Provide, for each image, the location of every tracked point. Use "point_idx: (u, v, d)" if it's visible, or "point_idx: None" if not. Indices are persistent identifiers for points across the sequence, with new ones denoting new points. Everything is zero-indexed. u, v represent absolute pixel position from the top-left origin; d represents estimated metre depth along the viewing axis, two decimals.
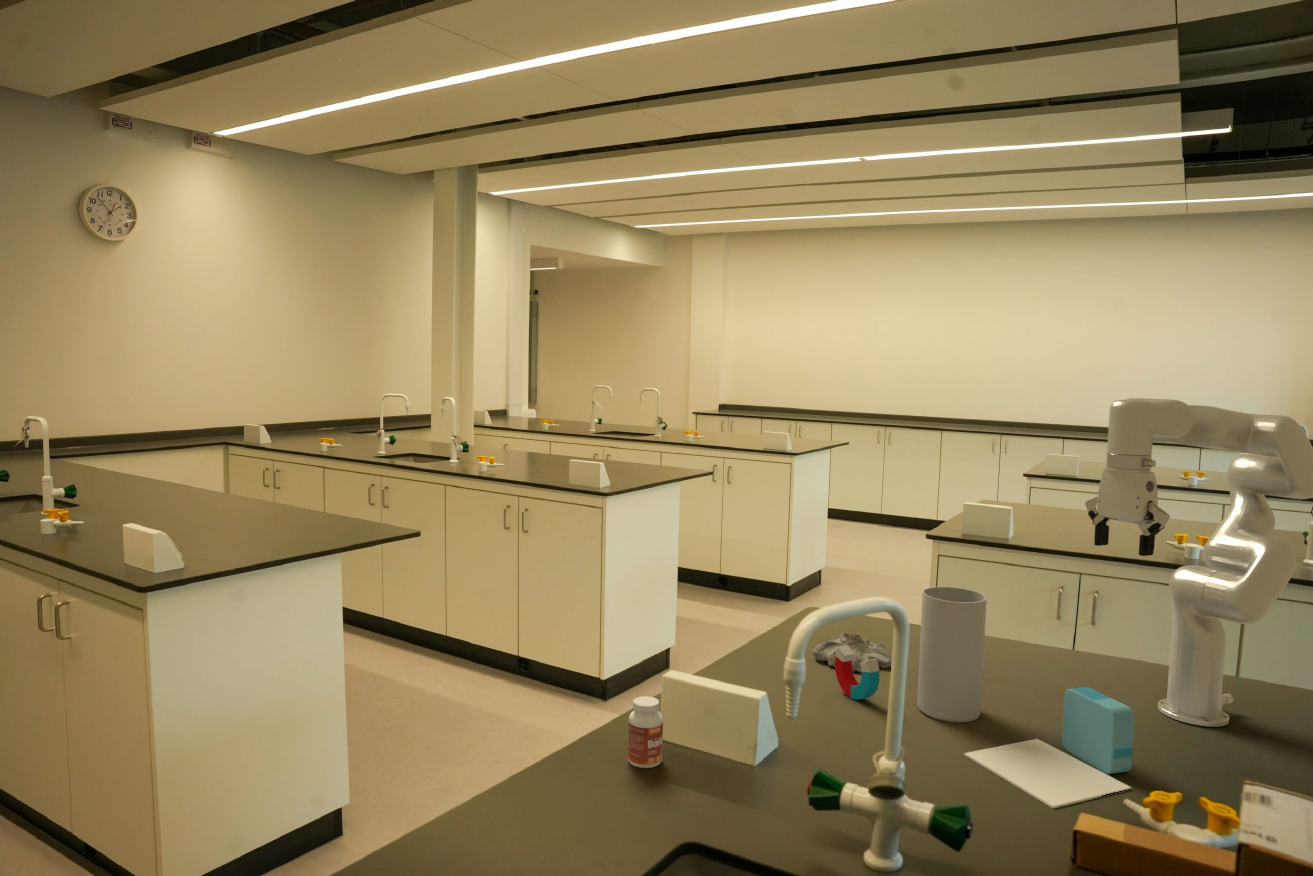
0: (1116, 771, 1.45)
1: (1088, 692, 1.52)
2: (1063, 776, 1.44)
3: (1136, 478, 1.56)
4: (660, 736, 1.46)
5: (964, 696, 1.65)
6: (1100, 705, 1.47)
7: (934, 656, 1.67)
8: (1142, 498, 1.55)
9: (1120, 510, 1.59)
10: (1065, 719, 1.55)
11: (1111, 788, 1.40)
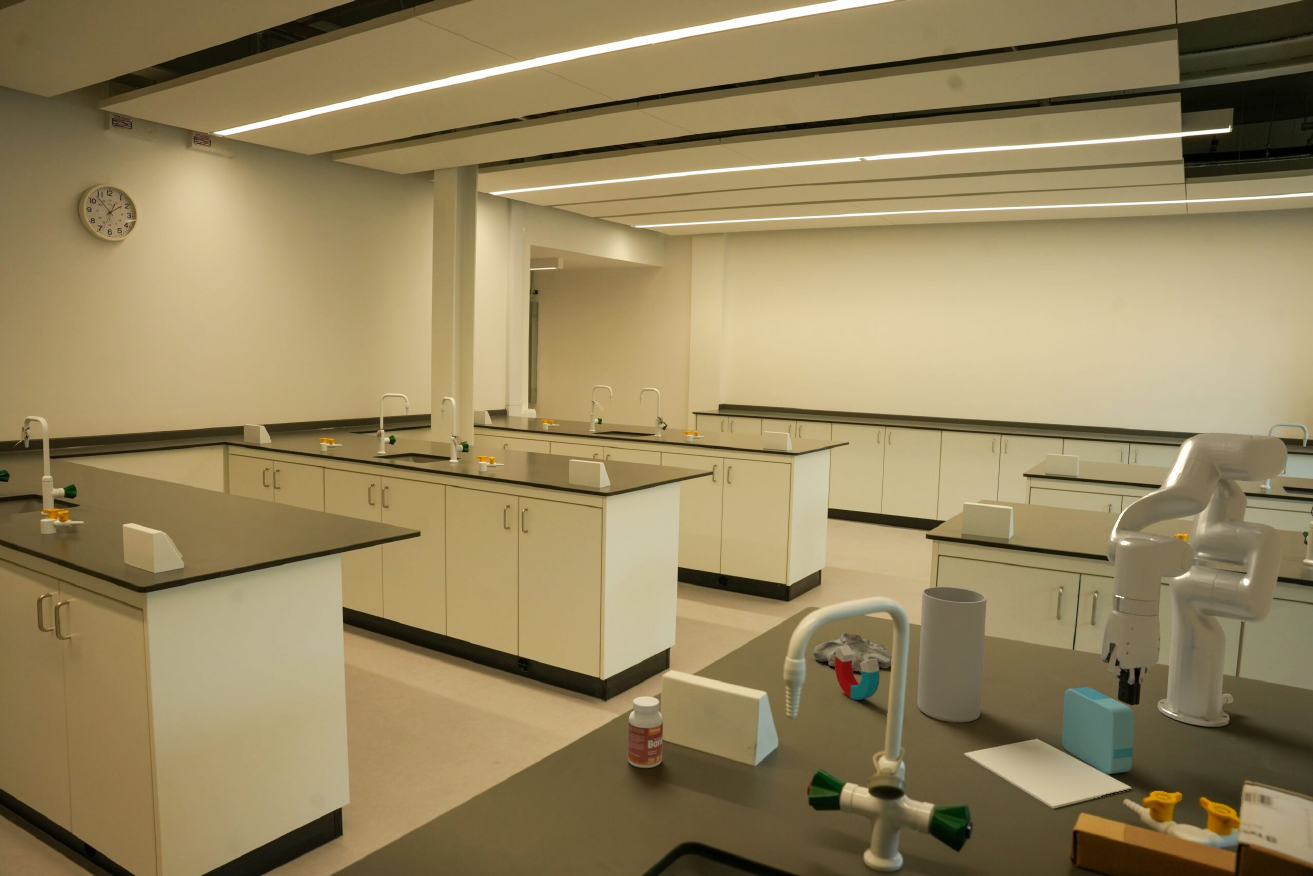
0: (1116, 771, 1.45)
1: (1088, 692, 1.52)
2: (1063, 776, 1.44)
3: (1158, 620, 1.51)
4: (660, 736, 1.46)
5: (964, 696, 1.65)
6: (1100, 705, 1.47)
7: (934, 656, 1.67)
8: None
9: (1145, 657, 1.51)
10: (1065, 719, 1.55)
11: (1111, 788, 1.40)
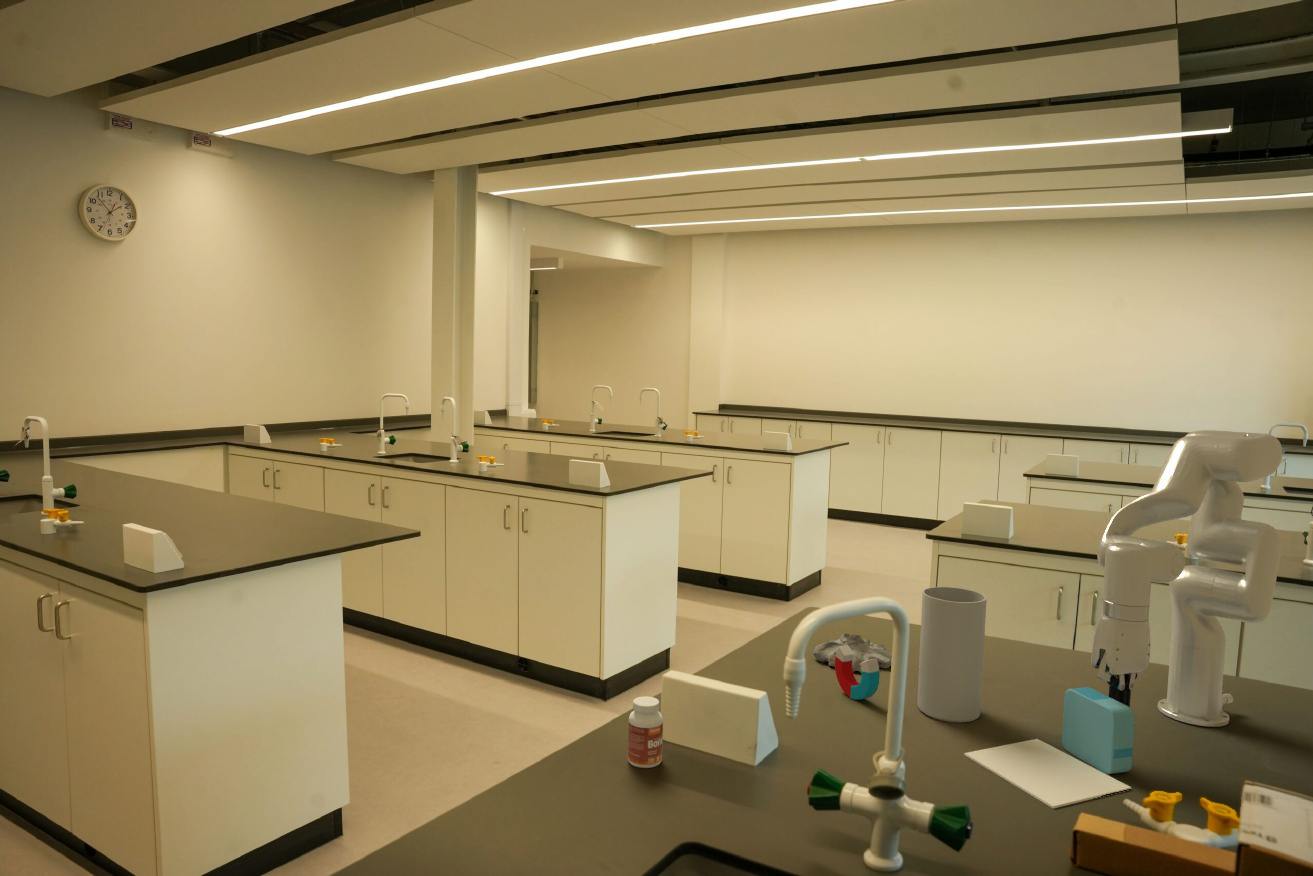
0: (1116, 771, 1.45)
1: (1088, 692, 1.52)
2: (1063, 776, 1.44)
3: (1148, 625, 1.50)
4: (660, 736, 1.46)
5: (964, 696, 1.65)
6: (1100, 705, 1.47)
7: (934, 656, 1.67)
8: None
9: (1135, 662, 1.50)
10: (1065, 719, 1.55)
11: (1111, 788, 1.40)
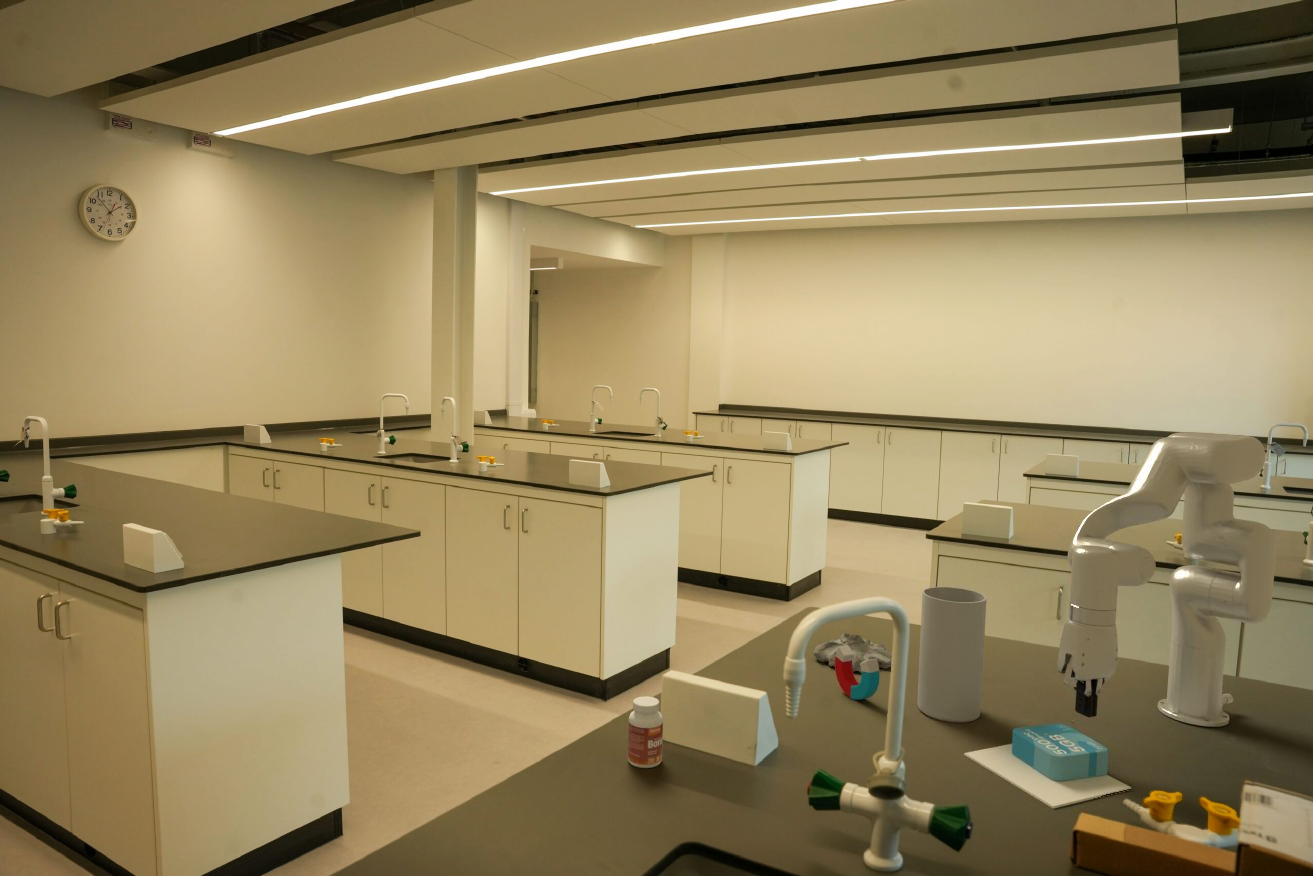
0: (1106, 767, 1.44)
1: (1021, 748, 1.49)
2: None
3: (1115, 629, 1.47)
4: (660, 736, 1.46)
5: (964, 696, 1.65)
6: None
7: (934, 656, 1.67)
8: None
9: (1102, 668, 1.47)
10: None
11: (1111, 788, 1.40)
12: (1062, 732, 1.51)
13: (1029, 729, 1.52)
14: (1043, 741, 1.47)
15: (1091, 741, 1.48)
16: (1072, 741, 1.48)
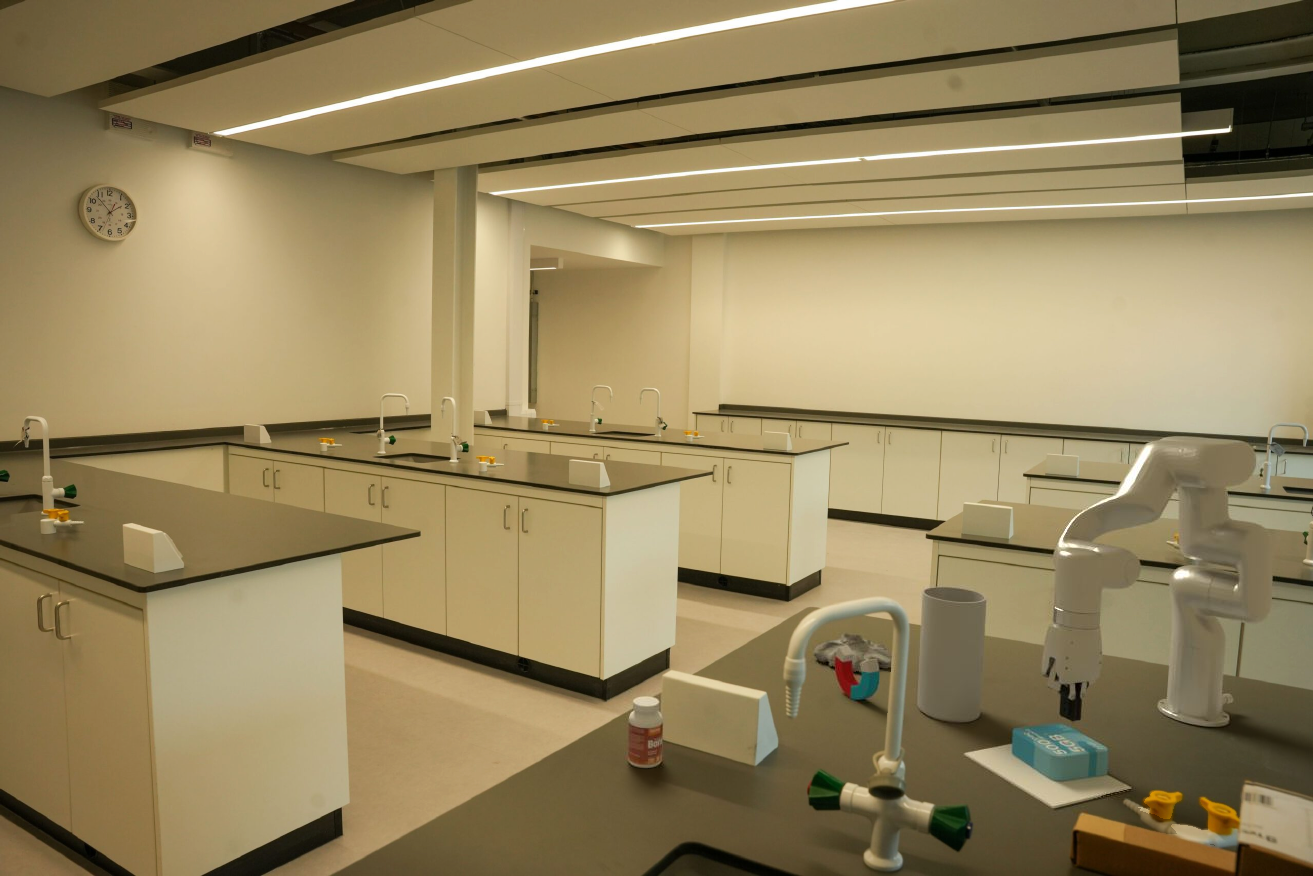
0: (1106, 767, 1.44)
1: (1021, 748, 1.49)
2: None
3: (1099, 633, 1.46)
4: (660, 736, 1.46)
5: (964, 696, 1.65)
6: None
7: (934, 656, 1.67)
8: None
9: (1086, 671, 1.45)
10: None
11: (1111, 788, 1.40)
12: (1062, 732, 1.51)
13: (1029, 729, 1.52)
14: (1043, 741, 1.47)
15: (1091, 741, 1.48)
16: (1072, 741, 1.48)
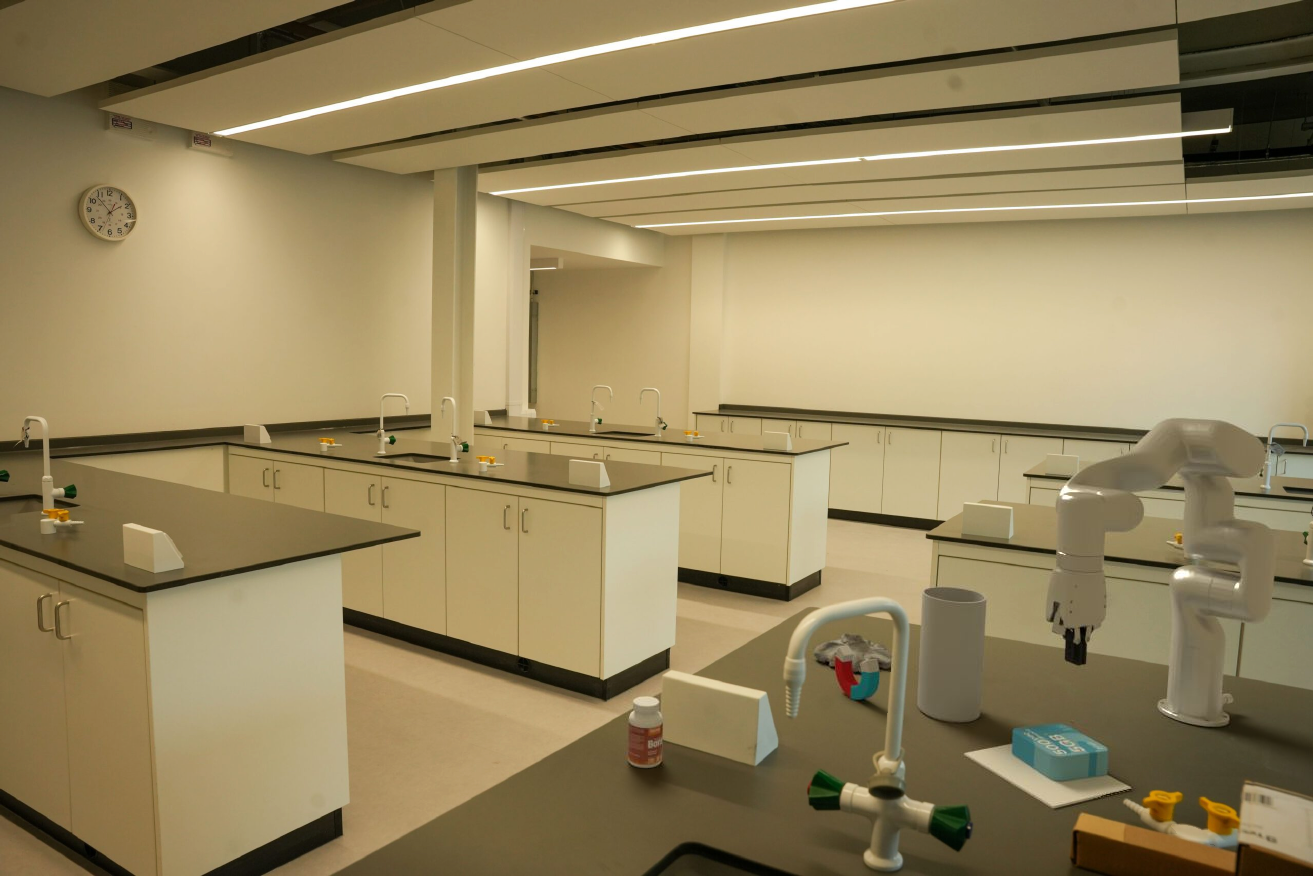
0: (1106, 767, 1.44)
1: (1021, 748, 1.49)
2: None
3: (1103, 576, 1.45)
4: (660, 736, 1.46)
5: (964, 696, 1.65)
6: None
7: (934, 656, 1.67)
8: None
9: (1091, 615, 1.45)
10: None
11: (1111, 788, 1.40)
12: (1062, 732, 1.51)
13: (1029, 729, 1.52)
14: (1043, 741, 1.47)
15: (1091, 741, 1.48)
16: (1072, 741, 1.48)
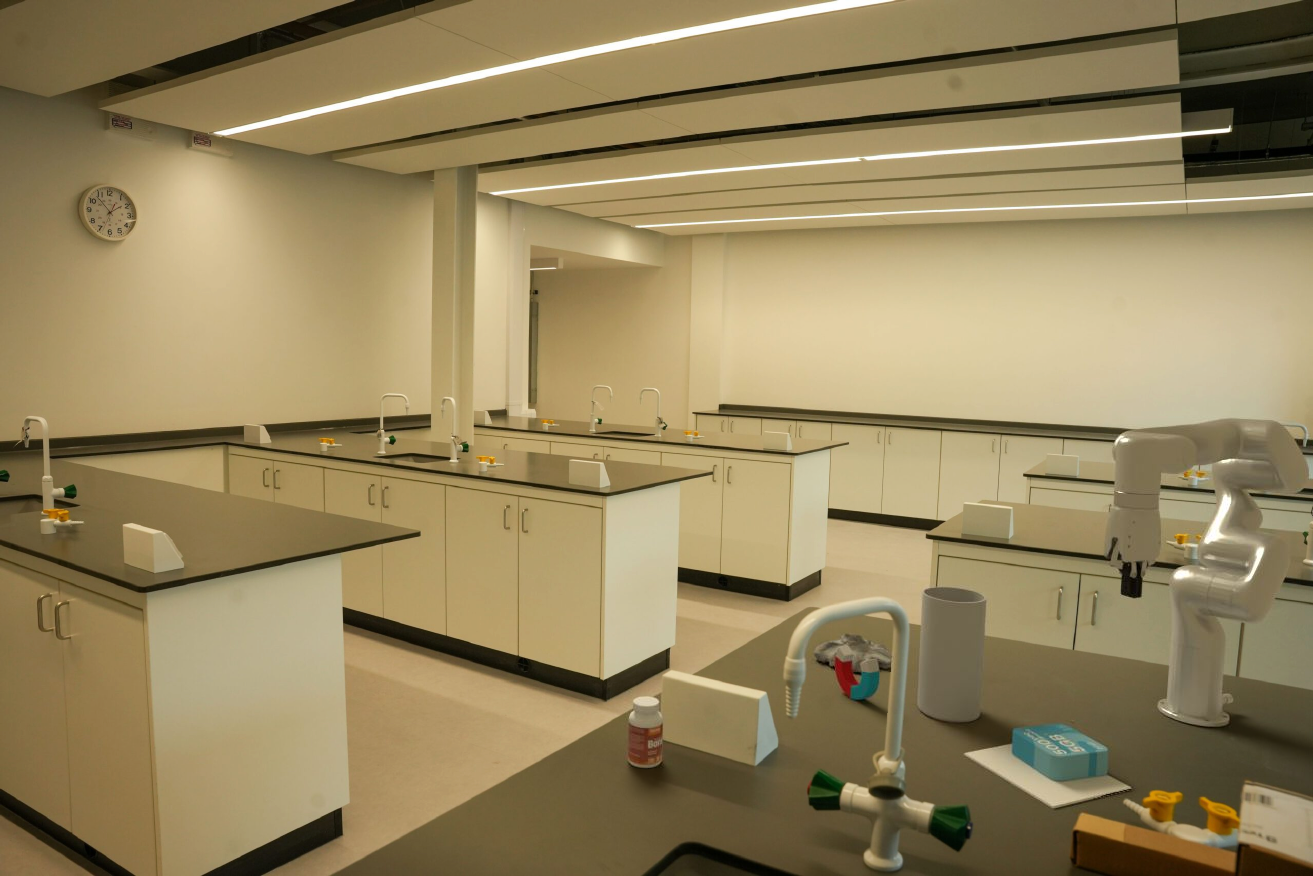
0: (1106, 767, 1.44)
1: (1021, 748, 1.49)
2: None
3: (1158, 514, 1.55)
4: (660, 736, 1.46)
5: (964, 696, 1.65)
6: None
7: (934, 656, 1.67)
8: None
9: (1147, 550, 1.54)
10: None
11: (1111, 788, 1.40)
12: (1062, 732, 1.51)
13: (1029, 729, 1.52)
14: (1043, 741, 1.47)
15: (1091, 741, 1.48)
16: (1072, 741, 1.48)
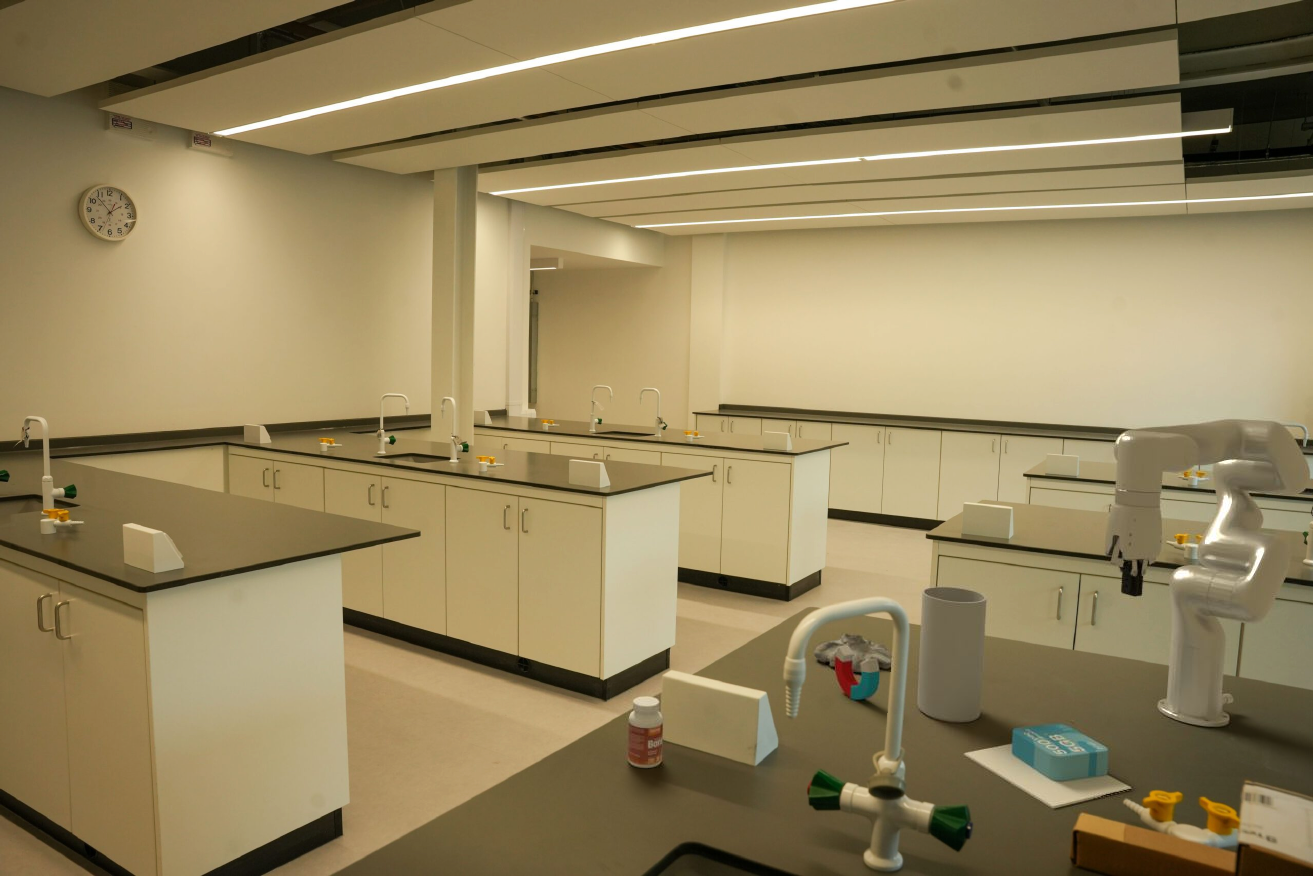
0: (1106, 767, 1.44)
1: (1021, 748, 1.49)
2: None
3: (1159, 513, 1.55)
4: (660, 736, 1.46)
5: (964, 696, 1.65)
6: None
7: (934, 656, 1.67)
8: None
9: (1148, 548, 1.54)
10: None
11: (1111, 788, 1.40)
12: (1062, 732, 1.51)
13: (1029, 729, 1.52)
14: (1043, 741, 1.47)
15: (1091, 741, 1.48)
16: (1072, 741, 1.48)
